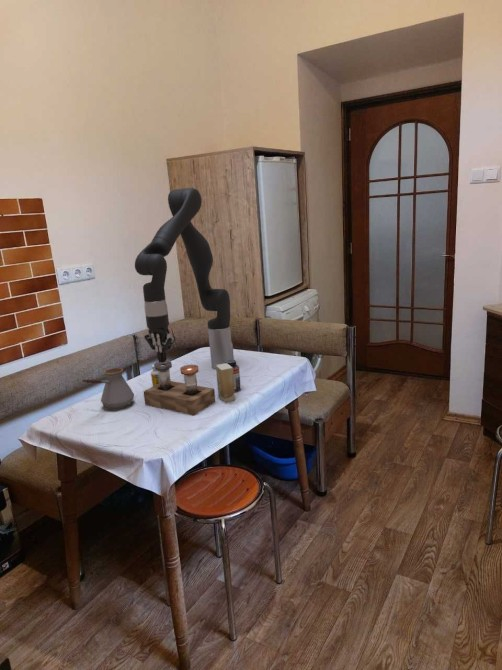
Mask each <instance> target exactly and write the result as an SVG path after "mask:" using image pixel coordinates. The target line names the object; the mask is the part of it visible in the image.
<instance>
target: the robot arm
mask: <svg viewBox="0 0 502 670" xmlns="http://www.w3.org/2000/svg"><path fill="white" fill-rule="evenodd" d="M167 195H168V196H167V203H168V207H169V210H170V212H171V216H172V217H171V218H170V219H168V220H167V221H166V222H164V223H163V224H162V225H161V226H160V227H159V228H158V230H157V231H156V233H155V234H154V237H152V240H151V241H150V243H148V244H147V245H146V246H145V247H144V248H143V249H142V250H141V251H140V252H139V254H137V256H136V258H135V261H134V269H135V271H136V273H137V274H139V275H140V276H151V281H150V282H147V283H144V285H143V286H142V290H143V291H142V293H143V301H144V312H145V313H144V314H145V321H146V323H145V324H146V328H147V329H148V333H147V334H145V335H144V336H143V337H144V340H145V341H146V342H147V343H148V346H149V347H150V348H151V349H152V350H153V351H154V350H155V352H156V355H157V360H158V362H162V363H163V362H165V361H167V359H168V358H167V351H168V350H171V348H172V346H173V344H174V342H175V341H176V337H175V336H174V335H173V336H172V335H171V334H170V329H169V325H170V321H169V311H168V304H167V299H166V293H165V285H166V278H167V271H168V264H167V260H166V258H165V257H167V256H168V255H169V254H170V253H171V251H172V250H173V247H174V246H175V243H176V242H177V240H178V238H179V237H181V239H182V242H183V245H184V248H185V251H186V255H187V257H188V261H189V264H190V266H191V269H192V272H193V275H194V279H195V282H196V285H197V290H198V291H197V292H198V296H199V301H200V303H201V306H202V308H203V309H204V310H205V311H208V312H216V317H215V318H211V319H209V320H208V321H207V332H208V341H209V342H208V343H209V351H210V352H209V354H210V363H211V368H212V369H215V370H216V365H219V364H224V363H225V361H226V360H229V359H234V360H235V357H234V346H233V345H234V344H233V342H232V335H231V334H232V333H231V324H230V322H231V299H230V294H229V292H228V291H227V290H226V289H224V288H212V286H211V283H210V273H211V270H212V266H213V264H214V263H213V262H214V256H213V254H212V250H211V246H210V244H209V241H208V240H207V239H206V238H205V237H204V236H203V234H202V233H201V232H200V231H199V230H198V229H197V228H196V227H195V225H194V224H193V223H192V220H193V219H194V218H195V216H196V215H197V214H198V213H199V212H200V210H201V207H202V202H203V201H202V200H203V199H202V195H201V193H200V191H199V190H198V189H197V188H193V187H186V188H178V189H172V190H171V191H169V193H168V194H167Z"/></svg>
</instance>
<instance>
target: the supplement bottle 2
mask: <svg viewBox="0 0 502 670" xmlns="http://www.w3.org/2000/svg"><path fill="white" fill-rule="evenodd" d="M225 363H227V364H229V365H230V366H231V367H232V368H233V377H234V391H235V393H236V391H237V392H239V391H240V390H241V387H242V386H241V374H240V373H241V372H240V366H239V365H237V360H236V359H235V358H234V359H229V360H226V361H225Z"/></svg>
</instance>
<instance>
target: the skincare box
mask: <svg viewBox="0 0 502 670" xmlns="http://www.w3.org/2000/svg"><path fill="white" fill-rule="evenodd" d="M215 371H216V383H217V385H216V386H217V397H218V398H219V399H220V400H221V401H222V402H223V403H224V402H225V403H229V402H234V401H235V400H236V394H235V393H236V392H235V391H234V377H233V368H232V367H231V366H230V365H229V364H227V363H224V364H219V365H216V369H215ZM233 400H234V401H233Z"/></svg>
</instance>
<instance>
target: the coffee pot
mask: <svg viewBox="0 0 502 670" xmlns="http://www.w3.org/2000/svg"><path fill="white" fill-rule="evenodd" d="M123 372H124V369H123V368H122V367H121V368H120V367H113V368H109V369H105V370H104V372H103V374H104V375H105V376H106V380H99V379H94V378H93V379H90V378H88V379H82V380H81V381H80V382H79V385H80V386H81V387H85V386H86V385H87V384H104V388H103V391H102V394H101V398H100V402H101V404H102V405H103V406H104V407H107V408H108V410H120V409H124V408H127V407H128V406H130V404H131V403H132V402H133V400H134V398H135V394H134V392H133V390H132V388H131V387H130V385H129V384H128V382H127V381H126V379H125V378H124V376H123ZM82 382H83V383H85V384H84V385H82V384H81V383H82Z"/></svg>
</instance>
